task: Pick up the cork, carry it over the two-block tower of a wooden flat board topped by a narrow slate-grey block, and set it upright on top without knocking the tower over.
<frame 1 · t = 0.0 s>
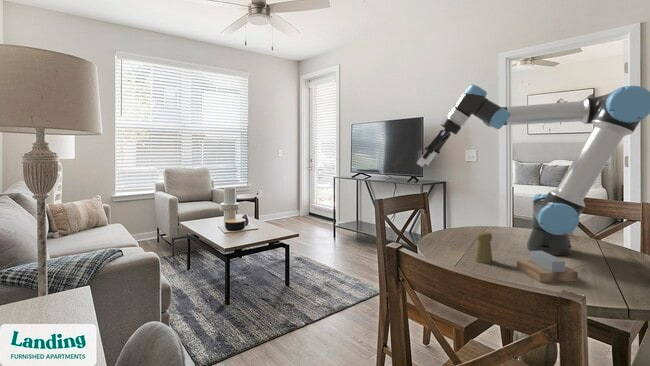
hand: (422, 164, 141), 36 cm above the table, tool tilted 35°, fingers open, 13 cm apart
cork: (483, 261, 124), on the table
wooden flat board: (545, 276, 109), on the table
slate-grey block: (546, 266, 109), point 3 cm above the table
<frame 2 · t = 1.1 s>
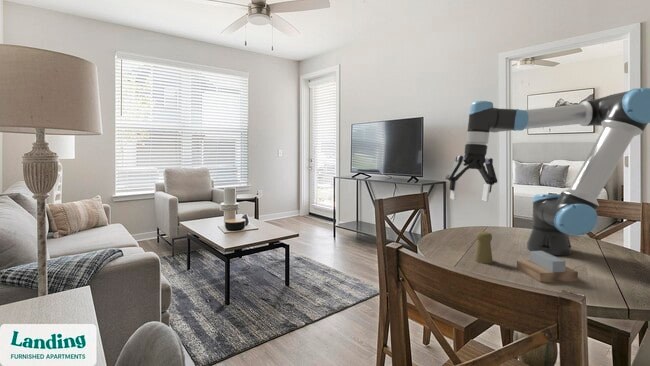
hand: (469, 200, 125), 23 cm above the table, tool pointing down, fingers open, 13 cm apart
wooden flat board: (545, 276, 109), on the table, touching slate-grey block
slate-grey block: (546, 266, 109), point 3 cm above the table, touching wooden flat board
everything else where it was.
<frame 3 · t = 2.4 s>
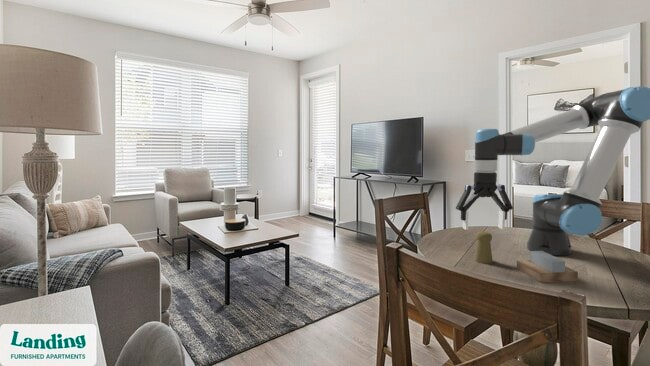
hand: (483, 228, 123), 12 cm above the table, tool pointing down, fingers open, 13 cm apart
wooden flat board: (545, 276, 109), on the table
slate-grey block: (546, 266, 109), point 3 cm above the table
everything else where it was.
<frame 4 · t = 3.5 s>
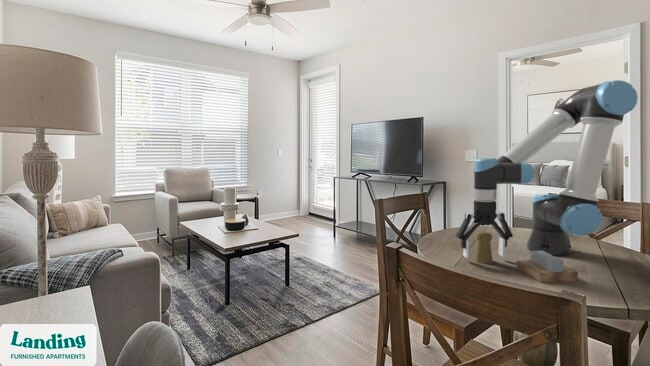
hand: (483, 256, 124), 2 cm above the table, tool pointing down, fingers open, 13 cm apart
nothing on the table moved.
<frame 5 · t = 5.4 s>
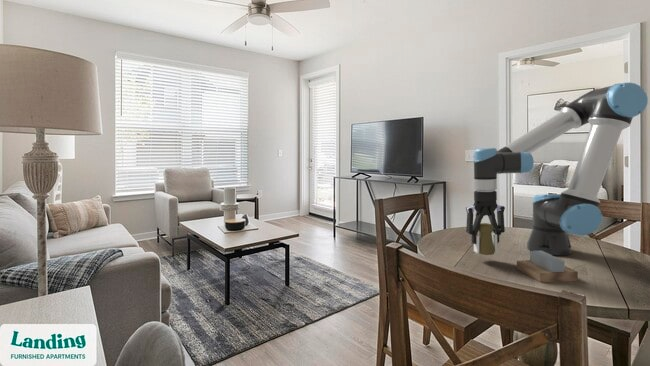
hand: (485, 251, 123), 4 cm above the table, tool pointing down, fingers closed on cork, 6 cm apart
cork: (485, 252, 123), point 3 cm above the table, touching gripper
wooden flat board: (545, 276, 109), on the table, touching slate-grey block
slate-grey block: (546, 266, 109), point 3 cm above the table, touching wooden flat board
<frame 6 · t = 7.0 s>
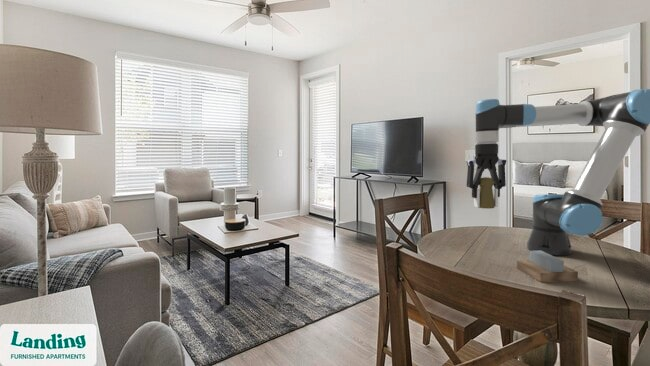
hand: (485, 206, 122), 21 cm above the table, tool pointing down, fingers closed on cork, 6 cm apart
cork: (485, 207, 122), point 20 cm above the table, touching gripper
everything else where it was.
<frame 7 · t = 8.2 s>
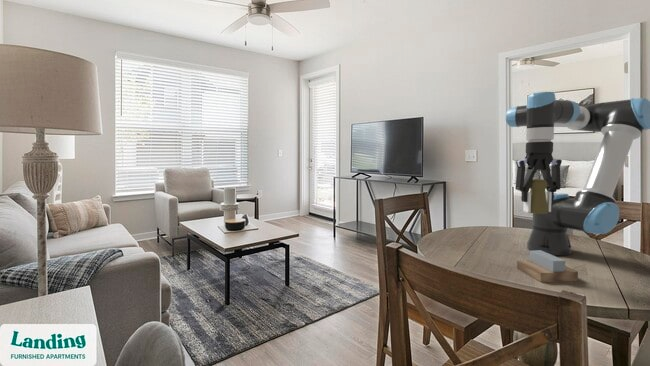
hand: (536, 211, 109), 21 cm above the table, tool pointing down, fingers closed on cork, 6 cm apart
cork: (536, 212, 109), point 20 cm above the table, touching gripper
wooden flat board: (545, 276, 109), on the table
slate-grey block: (546, 265, 109), point 3 cm above the table
when the fingers open (7 cm above the table, at t = 13.6 s): cork stays where it is, point 6 cm above the table.
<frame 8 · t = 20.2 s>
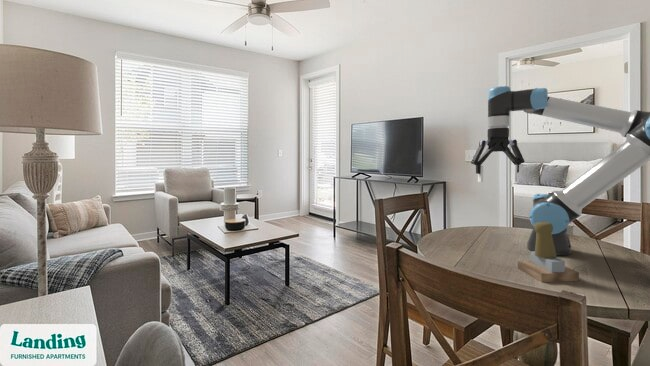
hand: (497, 181, 131), 29 cm above the table, tool pointing down, fingers open, 13 cm apart
cork: (545, 255, 109), point 6 cm above the table
wooden flat board: (546, 276, 109), on the table, touching slate-grey block
slate-grey block: (546, 266, 109), point 3 cm above the table, touching wooden flat board
at the end: cork 0.5 cm off-centre on the slate-grey block, point 3.6 cm above the slate-grey block's base; cork tilted 7°; slate-grey block 0.0 cm off-centre on the wooden flat board, point 3.5 cm above the wooden flat board's base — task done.
